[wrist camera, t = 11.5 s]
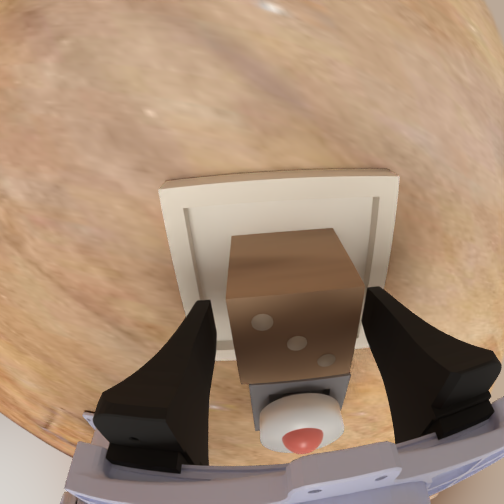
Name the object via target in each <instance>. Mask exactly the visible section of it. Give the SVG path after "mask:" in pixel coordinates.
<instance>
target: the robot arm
mask: <svg viewBox="0 0 504 504" xmlns="http://www.w3.org/2000/svg"><path fill="white" fill-rule="evenodd" d="M361 322H362V325H363V329H364V333H365V336H366V339H367V342H368V344H369V347H370V349H371V352H372V354H373V356H374V359H375V361H376V363H377V366H378V368H379V371H380V373H381V376H382V379H383V382H384V385H385V389H386V393H387V397H388V401H389V406H390V411H391V416H392V422H393V428H394V435H395V444H394V443H391V442H387V441H385V442H378V443H373V444H368V445H363V446H359V447H354V448H348V449H343V450H337V451H331V452H324V453H317V454H312V455H307V456H303V457H300V458H298V459H295V460H293V461H292V462H290V463H288V464H276V465H259V466H209V460H208V415H209V395H210V388H211V381H212V375H213V369H214V363H215V357H216V345H217V331H216V326H215V321H214V315H213V310H212V305H211V300H197V301H196V302H195V304H194V305H193V307H192V309H191V310H190V312H189V313H188V315H187V316H186V318H185V319H184V321H183V322H182V324H181V325H180V326H179V328H178V329H177V330H176V332H175V333H174V334H173V336H172V337H171V338H170V339H169V340H168V342H167V343H166V344H165V345H164V346H163V347H162V349H161V350H160V351H159V352H158V353H157V354H156V355H155V356H154V357H153V358H152V359H151V360H150V361H148V362H147V363H146V364H145V365H144V366H143V367H141V368H140V369H139V370H138V371H136V372H135V373H134V374H132V375H131V376H129V377H128V378H127V379H125V380H124V381H122V382H120V383H119V384H117V385H115V386H113V387H112V388H110V389H108V390H106V391H104V392H103V393H102V395H101V397H100V399H99V402H98V405H97V407H96V410H95V413H88V412H83V417H84V418H85V419H86V420H87V422H88V423H89V424H90V425H91V426H92V427H93V428H94V430H95V432H94V435H93V438H92V442H91V444H90V443H86V442H81V441H79V442H78V443H77V446H76V449H75V453H74V456H73V459H72V463H71V466H70V470H69V473H68V477H67V480H66V484H65V490H66V491H67V492H64V494H63V496H62V499H61V502H60V504H431V502H430V499H429V496H431V495H433V494H435V493H437V492H439V491H442V490H444V489H446V488H448V487H450V486H452V485H454V484H456V483H458V482H460V481H462V480H464V479H466V478H468V477H470V476H472V475H473V474H475V473H477V472H479V471H481V470H483V469H484V468H486V467H488V466H490V465H491V464H493V463H495V462H496V461H498V460H500V459H501V458H503V457H504V396H503V397H501V398H499V399H497V400H496V401H494V402H493V403H492V404H491V403H490V401H489V399H490V398H491V394H490V392H489V391H488V390H489V389H490V387H491V386H492V385H493V383H494V382H495V380H496V379H497V377H498V375H499V374H500V371H501V363H500V361H499V360H498V358H497V357H496V355H495V354H494V352H493V351H491V350H487V349H484V348H480V347H477V346H474V345H471V344H468V343H465V342H463V341H460V340H458V339H456V338H454V337H452V336H450V335H447V334H445V333H444V332H442V331H440V330H438V329H437V328H435V327H433V326H431V325H430V324H428V323H427V322H425V321H424V320H422V319H421V318H419V317H418V316H417V315H415V314H414V313H412V312H411V311H410V310H409V309H407V308H406V307H405V306H403V305H402V304H401V303H400V302H398V301H397V300H396V299H395V298H394V297H392V296H391V295H390V294H389V293H387V292H386V291H385V290H384V289H382V288H381V287H380V286H376V287H367V292H366V298H365V303H364V309H363V314H362V319H361Z"/></svg>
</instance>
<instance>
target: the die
mask: <svg viewBox="0 0 504 504" xmlns="http://www.w3.org/2000/svg"><path fill="white" fill-rule="evenodd" d="M364 292H365V284H364V283H363V281H362V279H361V277H360V275H359V273H358V272H357V270H356V268H355V266H354V264H353V263H352V261H351V259H350V257H349V255H348V254H347V252H346V250H345V248H344V247H343V245H342V243H341V241H340V240H339V238H338V236H337V234H336V233H335V231H334V229H333V228H324V229H310V230H297V231H284V232H272V233H260V234H248V235H236V236H231V246H230V256H229V266H228V277H227V287H226V298H225V299H226V305H227V311H228V317H229V322H230V328H231V333H232V339H233V344H234V350H235V355H236V361H237V366H238V371H239V376H240V381H241V384H254V383H268V382H280V381H291V380H300V379H309V378H317V377H325V376H332V375H339V374H345V373H349V372H350V367H351V363H352V358H353V353H354V348H355V343H356V338H357V333H358V328H359V322H360V316H361V311H362V304H363V298H364Z"/></svg>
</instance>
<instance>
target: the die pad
mask: <svg viewBox="0 0 504 504" xmlns="http://www.w3.org/2000/svg"><path fill="white" fill-rule="evenodd" d="M399 179H400V176H398V175H397V174H395V173H393V172H392V171H390V170H389V169H313V170H288V171H269V172H254V173H240V174H228V175H217V176H206V177H196V178H187V179H178V180H170V181H165V183H164V184H163V185H162V186H161V187H160V188H159V189H158V191H159V197H160V202H161V208H162V213H163V218H164V223H165V228H166V233H167V238H168V243H169V247H170V252H171V257H172V261H173V265H174V270H175V274H176V278H177V283H178V287H179V291H180V295H181V299H182V303H183V307H184V311H185V315H186V316H187V315H188V313H189V312H190V310H191V309H192V307H193V305H194V304H195V302H196V301H197V300H211V305H212V310H213V315H214V321H215V326H216V331H217V345H216V357H215V361H230V360H236V355H235V350H234V344H233V339H232V333H231V328H230V322H229V317H228V311H227V305H226V299H225V298H226V287H227V277H228V266H229V256H230V246H231V236H236V235H248V234H260V233H272V232H284V231H297V230H310V229H324V228H333V229H334V231H335V233H336V234H337V236H338V238H339V240H340V241H341V243H342V245H343V247H344V248H345V250H346V252H347V254H348V255H349V257H350V259H351V261H352V263H353V264H354V266H355V268H356V270H357V272H358V273H359V275H360V277H361V279H362V281H363V283H364V284H365V292H364V298H363V304H362V311H361V316H360V322H359V328H358V333H357V338H356V343H355V348H354V349H360V348H367V347H369V344H368V342H367V339H366V336H365V333H364V329H363V325H362V322H361V319H362V314H363V309H364V303H365V298H366V292H367V287H376V286H380V287H381V288H382V289H384V286H385V281H386V275H387V270H388V264H389V259H390V253H391V246H392V240H393V233H394V225H395V218H396V209H397V200H398V190H399Z"/></svg>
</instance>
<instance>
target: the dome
mask: <svg viewBox="0 0 504 504" xmlns="http://www.w3.org/2000/svg"><path fill="white" fill-rule="evenodd" d="M343 432H344V424H343V420H342V415H341V411H340V407H339V403H338V402H337V400H335V399H334V398H333V397H331V396H328V395H325V394H319V393H312V392H311V391H305V392H295V393H285V394H284V395H283V397H282V398H280V399H278V400H275V401H273V402H272V403H270V404H268V405H267V406H266V407H265V408H264V409H263V410H262V411H261V413H260V441H261V443H262V445H263V446H264V447H266V448H268V449H270V450H273V451H277V452H284V453H296V454H306V453H310V452H312V451H314V450H315V449H318V448H321V447H324V446H326V445H328V444H330V443H332V442H334V441H335V440H337V439H338V438H339V437H340V436H341V435H342V434H343Z"/></svg>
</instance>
